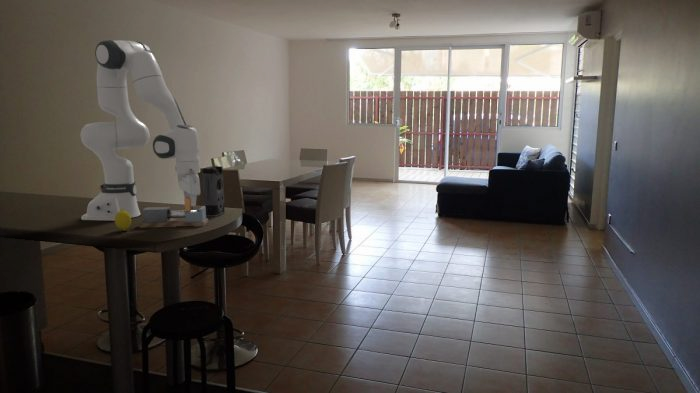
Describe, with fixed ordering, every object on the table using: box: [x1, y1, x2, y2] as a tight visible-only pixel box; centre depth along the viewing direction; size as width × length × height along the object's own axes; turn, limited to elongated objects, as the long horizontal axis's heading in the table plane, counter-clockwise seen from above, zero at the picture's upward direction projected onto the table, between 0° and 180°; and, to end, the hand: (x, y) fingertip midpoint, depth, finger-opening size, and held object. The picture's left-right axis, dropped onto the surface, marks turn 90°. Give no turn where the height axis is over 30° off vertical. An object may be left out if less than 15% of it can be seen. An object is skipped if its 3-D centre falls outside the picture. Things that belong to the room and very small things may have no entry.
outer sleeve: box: [141, 206, 172, 223], centre depth 206 cm, size 9×5×5 cm, turn 93°
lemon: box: [114, 210, 132, 232], centre depth 196 cm, size 6×6×8 cm
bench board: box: [138, 217, 209, 228], centre depth 207 cm, size 24×8×2 cm, turn 94°
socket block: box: [185, 205, 207, 222], centre depth 207 cm, size 6×6×5 cm
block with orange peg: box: [167, 197, 198, 219], centre depth 206 cm, size 14×4×8 cm, turn 94°
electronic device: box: [201, 165, 226, 218], centre depth 224 cm, size 9×6×20 cm, turn 168°
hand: (190, 203), depth 206 cm, fingers open, 8 cm apart
